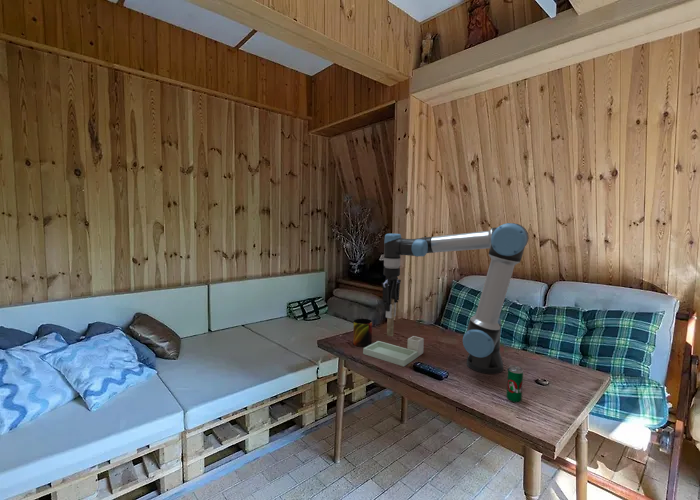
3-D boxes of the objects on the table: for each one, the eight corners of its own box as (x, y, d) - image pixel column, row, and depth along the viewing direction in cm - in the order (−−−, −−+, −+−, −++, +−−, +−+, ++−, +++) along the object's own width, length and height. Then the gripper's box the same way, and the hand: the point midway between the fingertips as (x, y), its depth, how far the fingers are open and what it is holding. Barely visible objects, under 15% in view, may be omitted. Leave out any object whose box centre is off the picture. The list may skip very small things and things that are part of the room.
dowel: (394, 334, 161) (395, 299, 159) (391, 336, 158) (392, 300, 157) (389, 333, 162) (389, 298, 161) (385, 335, 160) (386, 299, 158)
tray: (417, 358, 160) (417, 351, 159) (403, 368, 149) (404, 360, 149) (378, 347, 173) (378, 340, 173) (363, 355, 163) (363, 348, 163)
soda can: (517, 395, 127) (518, 364, 126) (524, 403, 122) (526, 370, 121) (503, 395, 127) (505, 364, 126) (510, 403, 122) (512, 370, 121)
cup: (423, 354, 165) (423, 338, 164) (417, 358, 160) (418, 341, 160) (412, 351, 168) (413, 335, 167) (407, 355, 164) (407, 339, 163)
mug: (359, 336, 188) (359, 315, 187) (375, 344, 177) (375, 322, 176) (345, 340, 183) (345, 318, 182) (360, 348, 172) (361, 325, 170)
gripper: (393, 264, 166) (392, 311, 168) (375, 268, 153) (374, 319, 156) (407, 266, 161) (406, 314, 164) (389, 269, 149) (388, 322, 151)
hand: (390, 316), depth 160 cm, fingers closed on dowel, 3 cm apart
